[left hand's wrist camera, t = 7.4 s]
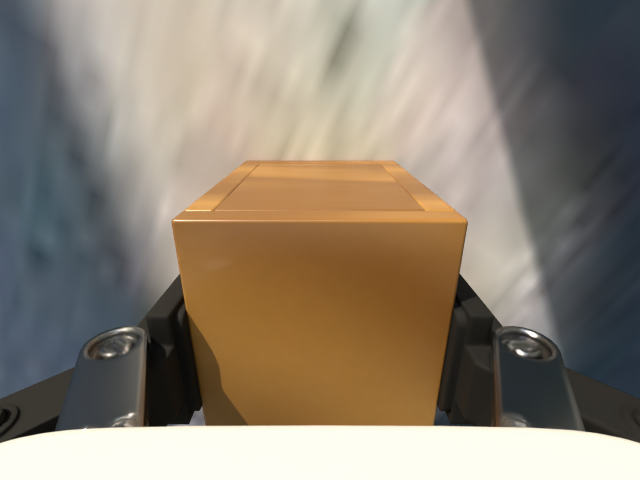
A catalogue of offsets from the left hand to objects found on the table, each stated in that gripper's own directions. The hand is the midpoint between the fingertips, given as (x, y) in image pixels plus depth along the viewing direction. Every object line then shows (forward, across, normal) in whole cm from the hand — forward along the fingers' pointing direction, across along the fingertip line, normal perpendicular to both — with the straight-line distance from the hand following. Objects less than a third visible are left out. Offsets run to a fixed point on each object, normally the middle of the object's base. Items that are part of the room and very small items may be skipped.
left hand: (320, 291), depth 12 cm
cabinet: (+4, 0, -6) cm, 7 cm away
